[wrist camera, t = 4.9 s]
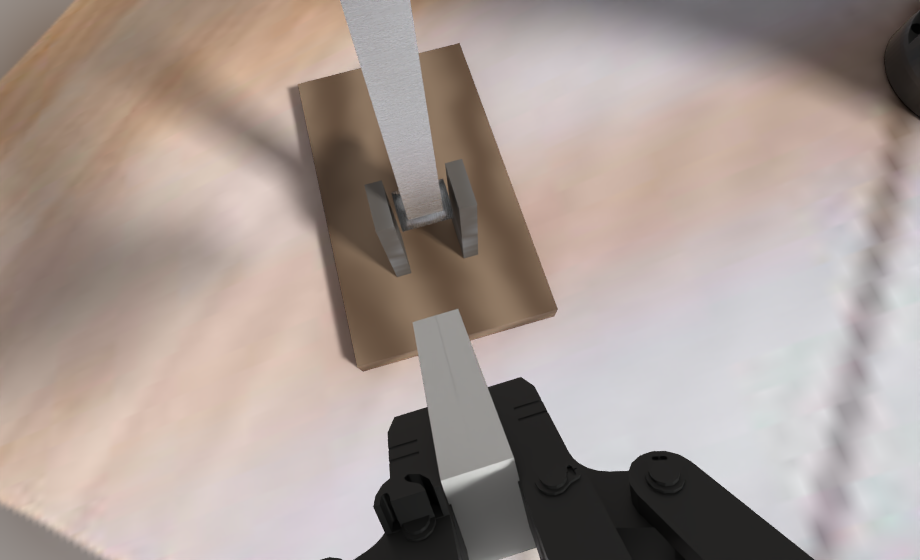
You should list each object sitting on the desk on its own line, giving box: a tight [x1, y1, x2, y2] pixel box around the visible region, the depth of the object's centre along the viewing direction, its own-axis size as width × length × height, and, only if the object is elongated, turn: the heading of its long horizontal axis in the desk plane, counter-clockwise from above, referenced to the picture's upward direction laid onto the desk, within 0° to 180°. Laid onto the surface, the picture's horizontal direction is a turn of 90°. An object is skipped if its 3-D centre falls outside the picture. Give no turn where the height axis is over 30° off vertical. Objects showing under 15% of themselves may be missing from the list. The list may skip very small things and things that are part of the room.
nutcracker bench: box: [298, 43, 558, 371], centre depth 39 cm, size 16×28×10 cm, turn 16°
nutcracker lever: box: [340, 0, 453, 232], centre depth 24 cm, size 4×8×24 cm, turn 16°
